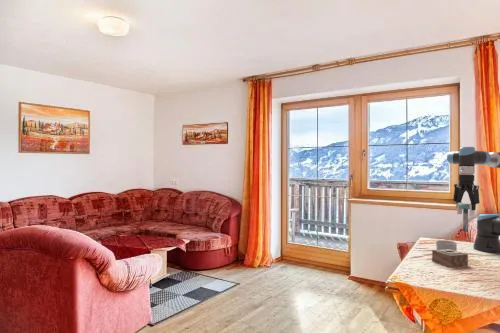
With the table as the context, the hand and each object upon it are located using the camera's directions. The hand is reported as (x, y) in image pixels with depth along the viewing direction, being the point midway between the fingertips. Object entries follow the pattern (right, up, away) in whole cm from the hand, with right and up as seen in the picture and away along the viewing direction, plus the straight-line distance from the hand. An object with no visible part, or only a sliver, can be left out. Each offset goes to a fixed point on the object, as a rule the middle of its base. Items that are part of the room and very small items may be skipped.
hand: (465, 214), depth 192 cm
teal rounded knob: (0, -9, 0) cm, 9 cm away
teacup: (-4, -26, +14) cm, 30 cm away
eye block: (-12, -26, -4) cm, 29 cm away
